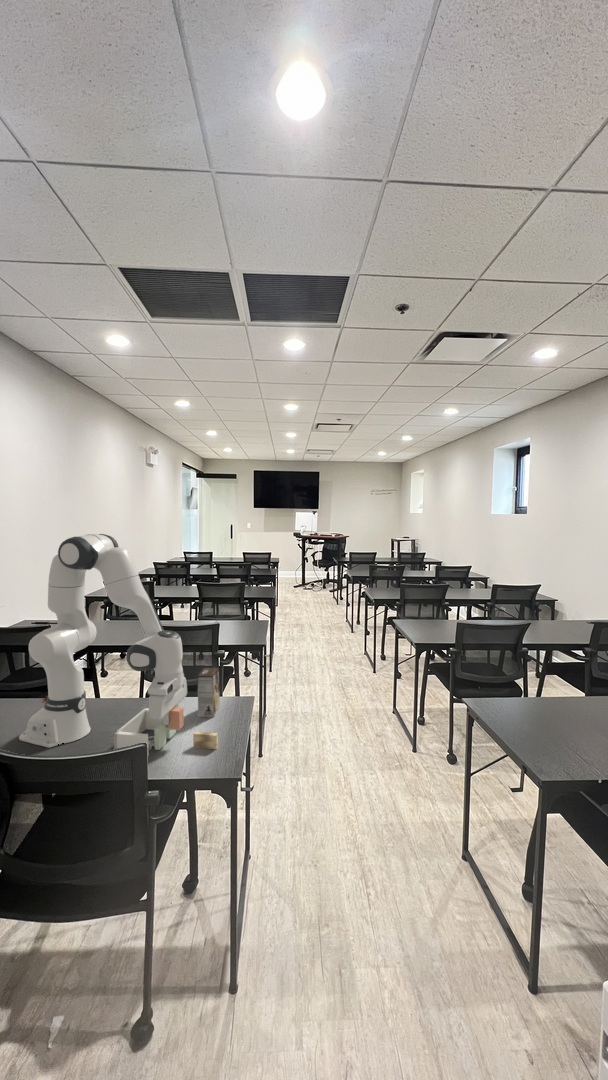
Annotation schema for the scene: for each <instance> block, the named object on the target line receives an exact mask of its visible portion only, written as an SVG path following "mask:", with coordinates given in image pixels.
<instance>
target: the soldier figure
mask: <svg viewBox="0 0 608 1080" xmlns="http://www.w3.org/2000/svg"><path fill="white" fill-rule="evenodd" d="M148 740H150V742H149V745H148V749H149V751H151V750H152V748H153V747H155V735H154V736H148Z"/></svg>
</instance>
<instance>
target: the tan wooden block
mask: <svg viewBox="0 0 608 1080" xmlns="http://www.w3.org/2000/svg"><path fill="white" fill-rule="evenodd" d="M192 735H193V737H192V739H193V748H197V749H198V748H199V749H208V750H209V749H210V750H217V749H218V748H219V733H218V732H208V731H194V732H193V734H192Z"/></svg>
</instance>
